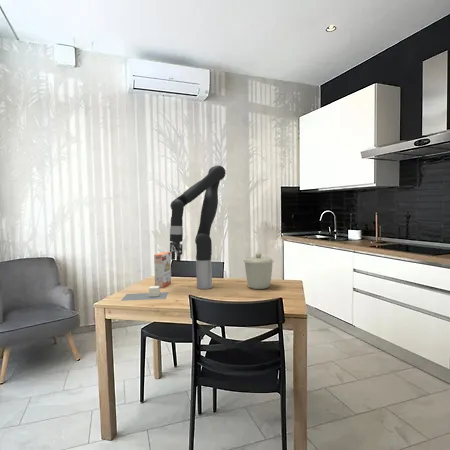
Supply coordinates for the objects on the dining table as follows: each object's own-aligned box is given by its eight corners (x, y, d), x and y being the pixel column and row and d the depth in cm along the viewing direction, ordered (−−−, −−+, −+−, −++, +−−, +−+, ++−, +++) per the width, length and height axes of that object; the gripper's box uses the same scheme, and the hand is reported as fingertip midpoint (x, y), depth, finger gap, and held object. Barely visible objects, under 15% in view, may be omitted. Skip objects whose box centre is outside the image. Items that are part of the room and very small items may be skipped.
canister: (270, 292, 188) (270, 255, 187) (240, 290, 194) (239, 254, 193) (276, 284, 205) (276, 251, 204) (248, 283, 211) (247, 250, 210)
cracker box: (163, 288, 202) (162, 254, 201) (154, 288, 203) (153, 254, 202) (171, 283, 216) (170, 251, 215) (163, 283, 217) (162, 251, 216)
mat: (168, 292, 192) (168, 292, 192) (165, 299, 178) (165, 298, 178) (126, 294, 190) (126, 293, 190) (120, 301, 176) (120, 300, 176)
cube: (159, 294, 187) (159, 285, 187) (158, 296, 182) (158, 287, 182) (150, 294, 187) (150, 286, 186) (149, 297, 182) (149, 288, 181)
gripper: (186, 234, 190) (186, 262, 191) (177, 232, 203) (177, 258, 203) (174, 234, 187) (174, 262, 187) (166, 232, 199) (165, 259, 199)
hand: (175, 260), depth 195 cm, fingers open, 8 cm apart
